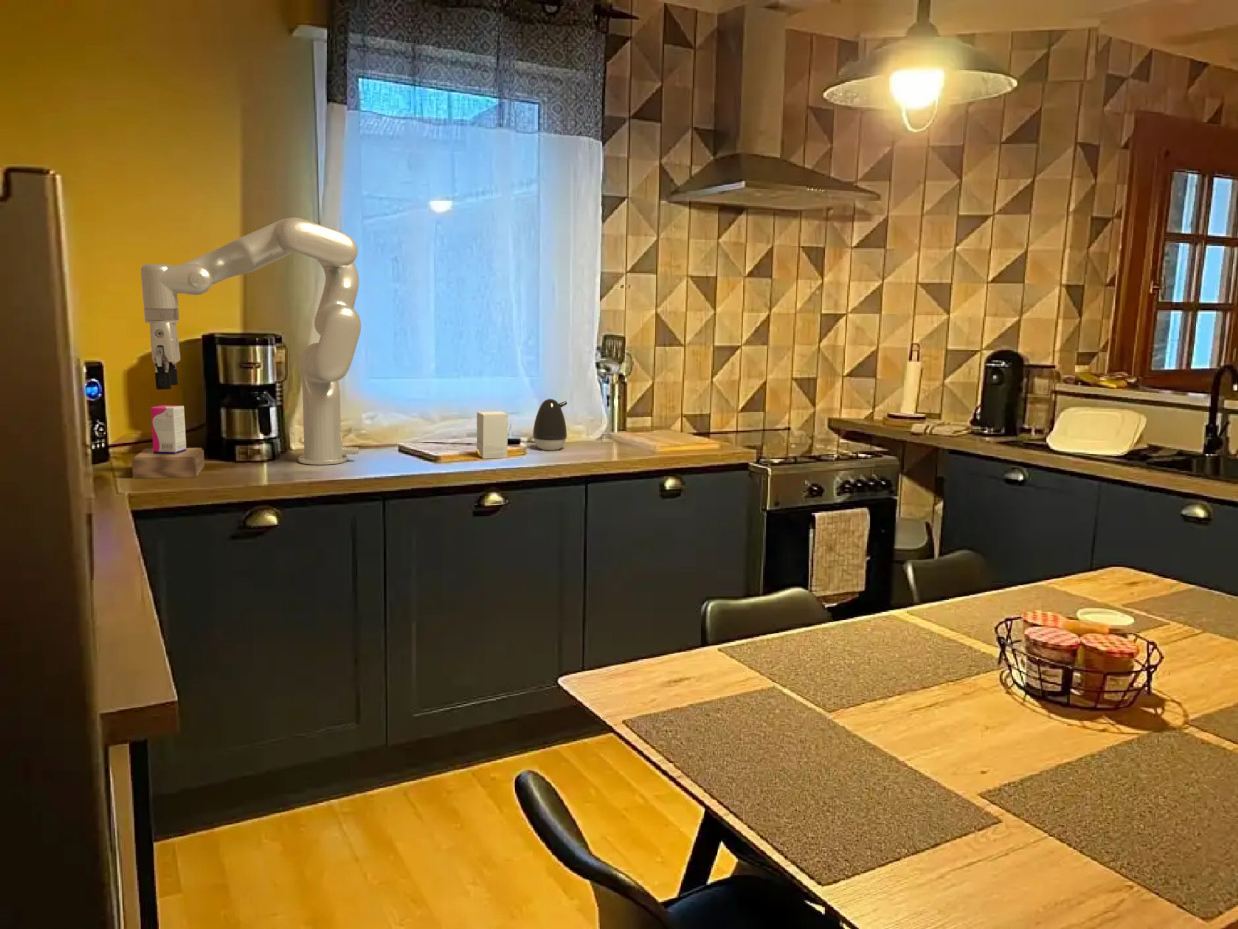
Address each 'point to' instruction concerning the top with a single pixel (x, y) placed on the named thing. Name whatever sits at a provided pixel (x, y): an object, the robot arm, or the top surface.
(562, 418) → the pump dispenser
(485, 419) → the supplement box
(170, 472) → the block
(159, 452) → the supplement box
